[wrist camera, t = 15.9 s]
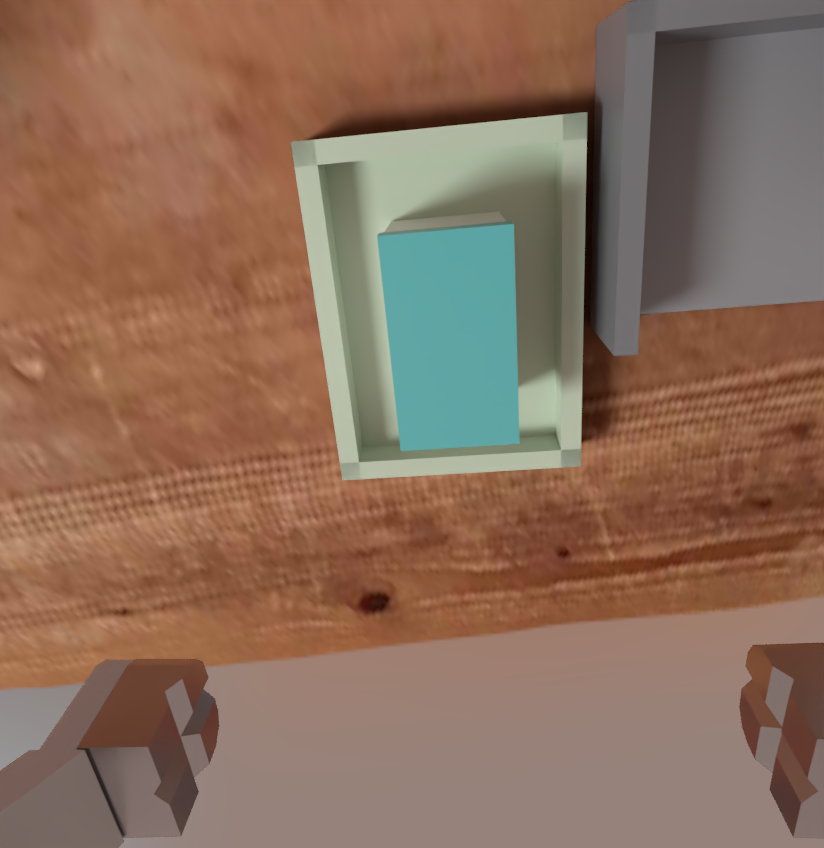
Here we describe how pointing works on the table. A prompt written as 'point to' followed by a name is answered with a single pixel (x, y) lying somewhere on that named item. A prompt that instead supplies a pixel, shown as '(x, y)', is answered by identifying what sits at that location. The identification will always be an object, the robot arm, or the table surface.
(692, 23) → the bay
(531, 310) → the tray
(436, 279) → the teal-topped block
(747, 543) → the table surface
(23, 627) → the table surface
